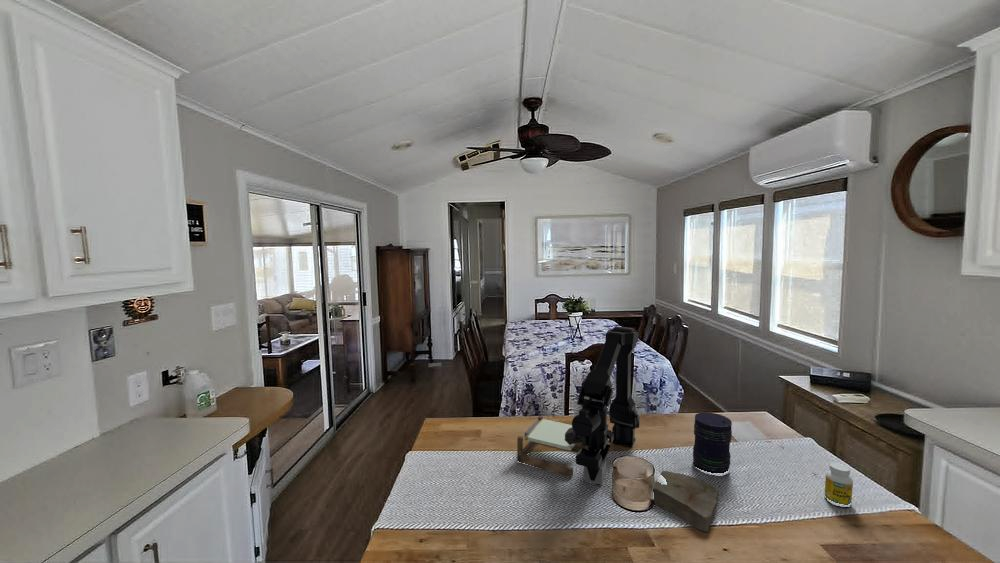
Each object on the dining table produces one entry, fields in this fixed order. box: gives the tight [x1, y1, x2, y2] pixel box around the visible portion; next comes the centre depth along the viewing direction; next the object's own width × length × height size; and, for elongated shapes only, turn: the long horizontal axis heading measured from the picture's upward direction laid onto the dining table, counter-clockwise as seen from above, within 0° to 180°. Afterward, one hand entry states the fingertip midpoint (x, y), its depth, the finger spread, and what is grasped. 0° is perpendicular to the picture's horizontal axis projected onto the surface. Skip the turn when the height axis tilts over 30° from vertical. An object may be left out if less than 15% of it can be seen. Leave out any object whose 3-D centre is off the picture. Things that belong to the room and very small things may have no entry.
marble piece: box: [652, 470, 720, 533], centre depth 103 cm, size 17×15×4 cm
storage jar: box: [692, 411, 733, 473], centre depth 119 cm, size 10×10×15 cm
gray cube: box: [583, 459, 607, 486], centre depth 114 cm, size 5×5×5 cm
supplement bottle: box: [824, 462, 854, 505], centre depth 103 cm, size 5×5×10 cm
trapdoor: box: [524, 418, 576, 451], centre depth 125 cm, size 16×14×1 cm
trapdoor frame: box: [516, 415, 588, 478], centre depth 126 cm, size 17×17×8 cm
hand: (595, 475), depth 114 cm, fingers closed on gray cube, 5 cm apart
